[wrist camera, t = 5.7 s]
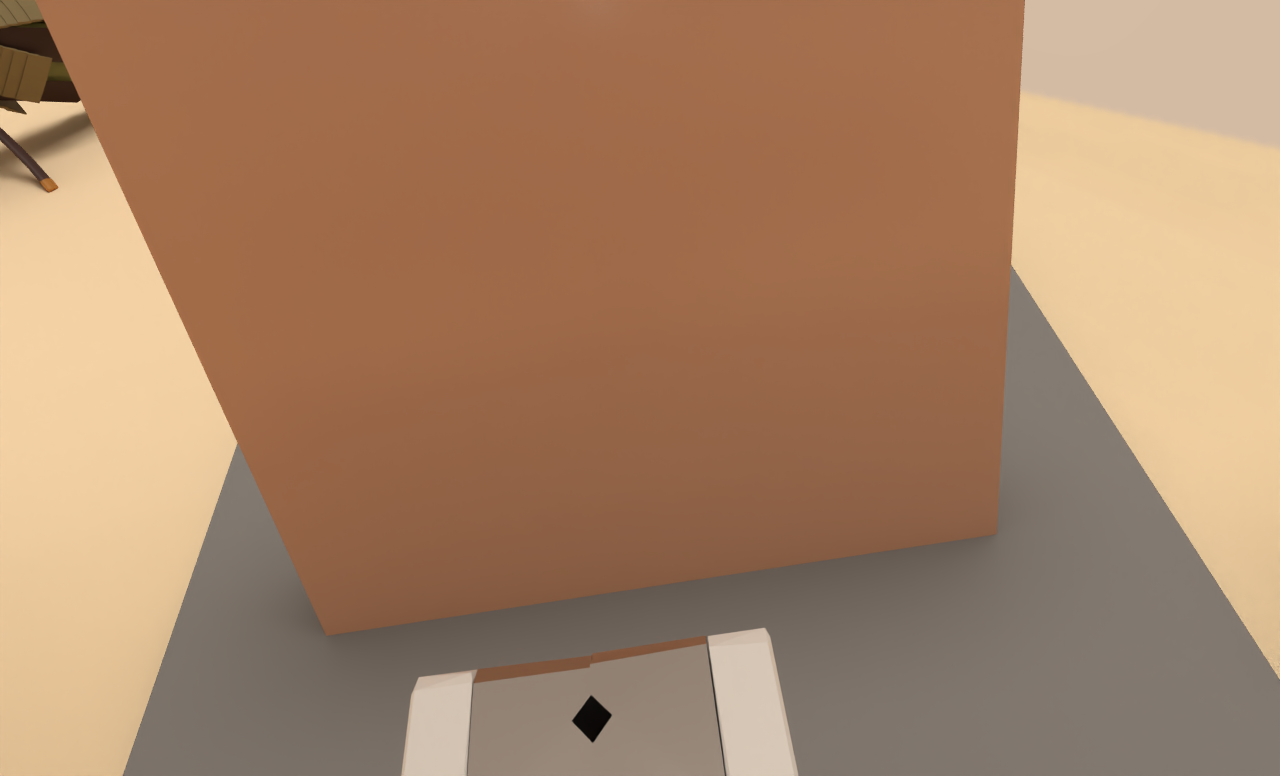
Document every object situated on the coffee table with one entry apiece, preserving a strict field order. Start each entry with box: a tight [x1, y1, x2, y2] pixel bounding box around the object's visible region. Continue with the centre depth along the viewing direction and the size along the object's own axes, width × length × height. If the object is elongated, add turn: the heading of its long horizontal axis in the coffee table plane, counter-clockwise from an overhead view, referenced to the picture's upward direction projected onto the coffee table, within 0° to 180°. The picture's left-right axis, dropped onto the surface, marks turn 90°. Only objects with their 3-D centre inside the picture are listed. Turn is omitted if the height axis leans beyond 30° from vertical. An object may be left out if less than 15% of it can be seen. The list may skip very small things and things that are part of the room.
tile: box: [35, 0, 1025, 636], centre depth 18 cm, size 12×2×12 cm, turn 94°
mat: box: [123, 266, 1280, 776], centre depth 23 cm, size 18×22×1 cm
